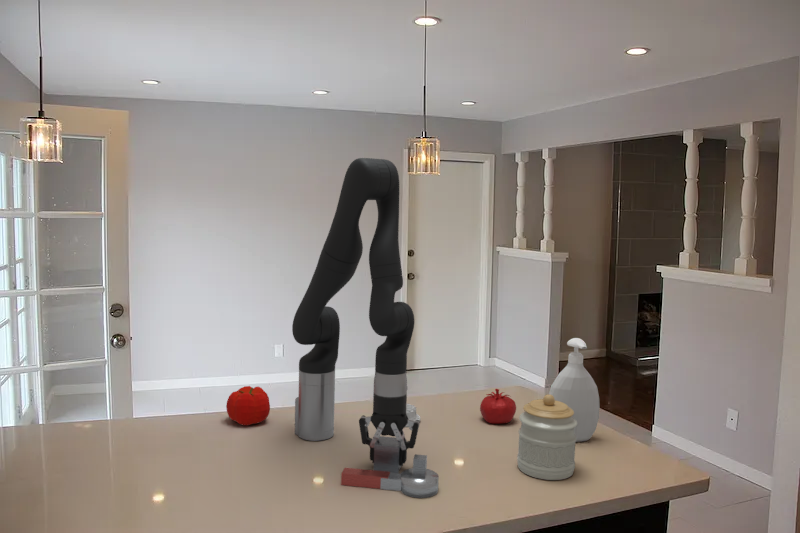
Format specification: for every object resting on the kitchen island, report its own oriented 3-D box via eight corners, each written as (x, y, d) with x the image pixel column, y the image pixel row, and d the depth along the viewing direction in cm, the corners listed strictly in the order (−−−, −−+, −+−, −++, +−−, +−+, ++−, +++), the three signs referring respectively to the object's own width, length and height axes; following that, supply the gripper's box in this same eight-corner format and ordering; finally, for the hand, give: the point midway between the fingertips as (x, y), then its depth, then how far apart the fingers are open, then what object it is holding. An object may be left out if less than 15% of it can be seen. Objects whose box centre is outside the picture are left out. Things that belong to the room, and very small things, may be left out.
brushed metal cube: (373, 471, 141) (374, 444, 140) (378, 461, 146) (378, 436, 146) (398, 474, 140) (399, 447, 139) (401, 464, 145) (402, 438, 145)
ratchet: (439, 483, 136) (440, 451, 135) (436, 499, 128) (437, 466, 127) (347, 474, 139) (347, 443, 138) (338, 490, 131) (339, 457, 130)
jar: (576, 463, 149) (580, 390, 147) (572, 485, 137) (577, 406, 135) (521, 454, 153) (524, 384, 152) (512, 475, 141) (516, 398, 139)
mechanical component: (380, 426, 171) (416, 429, 169) (381, 410, 171) (417, 413, 169) (389, 414, 181) (423, 417, 179) (389, 399, 181) (423, 402, 178)
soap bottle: (552, 447, 159) (557, 342, 156) (540, 435, 167) (545, 335, 164) (605, 445, 161) (612, 341, 159) (591, 434, 169) (597, 335, 167)
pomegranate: (517, 428, 173) (520, 395, 172) (481, 426, 173) (483, 393, 172) (511, 415, 183) (514, 384, 182) (477, 413, 183) (479, 382, 182)
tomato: (235, 414, 177) (235, 382, 176) (276, 417, 175) (276, 385, 174) (219, 426, 166) (219, 393, 165) (262, 430, 165) (263, 396, 164)
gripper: (355, 393, 139) (353, 467, 140) (419, 398, 137) (417, 473, 138) (362, 384, 146) (360, 454, 148) (423, 388, 144) (421, 459, 146)
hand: (388, 463), depth 143 cm, fingers closed on brushed metal cube, 5 cm apart
